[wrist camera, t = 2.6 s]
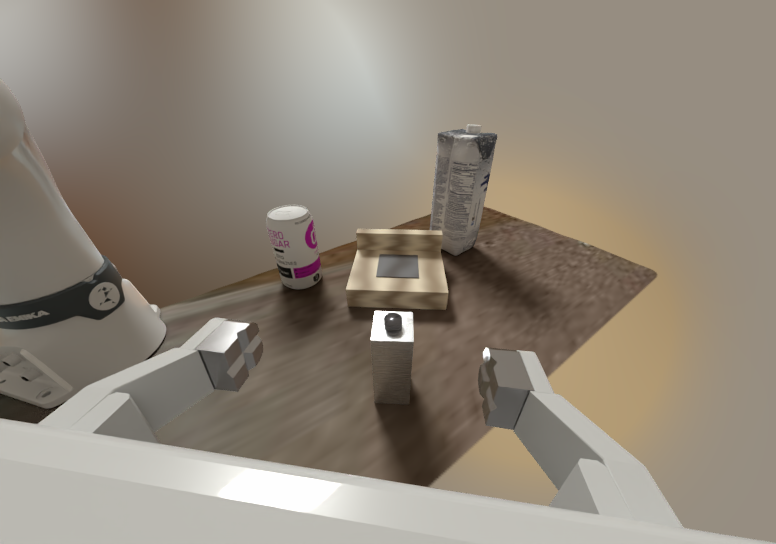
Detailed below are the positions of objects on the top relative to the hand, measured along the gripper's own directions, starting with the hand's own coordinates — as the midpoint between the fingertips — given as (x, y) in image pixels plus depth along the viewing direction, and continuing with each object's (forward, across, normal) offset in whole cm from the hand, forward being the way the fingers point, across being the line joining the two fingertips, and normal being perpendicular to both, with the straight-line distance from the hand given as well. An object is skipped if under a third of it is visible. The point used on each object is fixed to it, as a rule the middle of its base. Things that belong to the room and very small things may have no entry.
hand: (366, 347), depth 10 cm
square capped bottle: (+18, 0, -25) cm, 31 cm away
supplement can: (+40, -22, -23) cm, 52 cm away
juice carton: (+59, +10, -21) cm, 63 cm away
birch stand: (+42, -2, -22) cm, 48 cm away
